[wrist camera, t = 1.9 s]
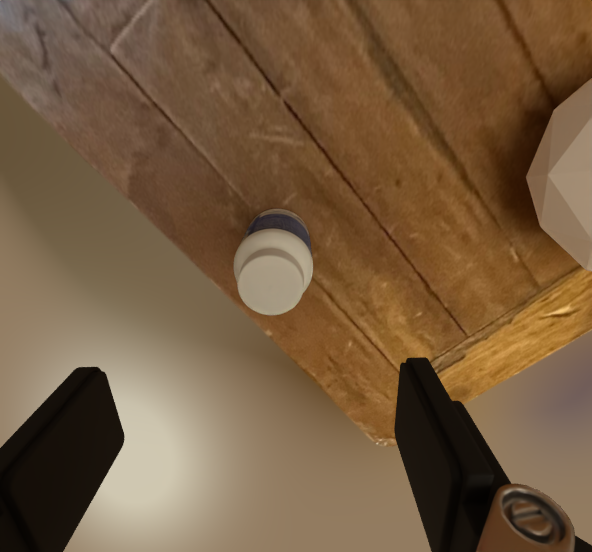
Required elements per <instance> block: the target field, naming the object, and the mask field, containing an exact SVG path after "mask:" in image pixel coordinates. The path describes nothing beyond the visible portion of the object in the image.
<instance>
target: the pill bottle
mask: <svg viewBox="0 0 592 552" xmlns="http://www.w3.org/2000/svg"><path fill="white" fill-rule="evenodd" d="M312 273H313V260H312V252H311V243H310V236H309V232H308V229H307V226H306V225H305V223H304V222H303V220H302V219H301V218H300V217H299V216H298V215H296V214H295V213H293V212H291V211H288V210H285V209H270V210H267V211H264V212H262V213H261V214H259V215H258V216H256V217H255V218H254V220H253V221H252V222H251V224H250V226H249V227H248V229H247V231H246V233H245V235H244V237H243V239H242V241H241V243H240V245H239V247H238V249H237V252H236V255H235V258H234V274H235V278H236V281H237V283H238V291H239V295H240V297H241V299H242V300H243V302H244V303H245V304H246V305H247V306H248V307H249V308H251V309H252V310H254V311H256V312H258V313H261V314H265V315H279V314H282V313H285V312H287V311H289V310H291V309H292V308H294V307H295V306H296V304H297V303H298V302H299V300H300V299H301V296H302V294H303V293H304V291H305V290H306V289H307V287H308V286H309V284H310V281H311V278H312Z"/></svg>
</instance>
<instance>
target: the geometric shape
mask: <svg viewBox="0 0 592 552" xmlns="http://www.w3.org/2000/svg"><path fill="white" fill-rule="evenodd" d="M526 179H527V183H528V186H529V190H530V193H531V197H532V200H533V204H534V207H535V211H536V214H537V217H538V221H539V224H540V227H541V228H542V229H543V230H544V231H545V232H546V233H547V234H548V235H549V236H550V237H552V238H553V239H554V240H555V241H556V242H557V243H558V244H559V245H560V246H561V247H562V248H563V249H564V250H565V251H566V252H567V253H569V254H570V255H571V256H572V257H573V258H574V259H575V260H576V261H577V262H578V263H579V264H580V265H581V266H582V267H583V268H584V269H586V270H588V271H592V78H591V79H590V80H589V81H587V82H586V83H585V84H584V85H583V86H581V87H580V88H579V89H578V90H577V91H576V92H574V93H573V94H572V95H571V96H570V97H568V98H567V99H566V100H565V101H564V102H563V103H561V104H560V105H559V106H558V107H557V108H555V109H554V111H553V113H552V116H551V118H550V121H549V123H548V125H547V128H546V130H545V133H544V135H543V137H542V140H541V142H540V145H539V147H538V149H537V152H536V154H535V157H534V159H533V162H532V164H531V166H530V169H529V171H528V174H527V176H526Z"/></svg>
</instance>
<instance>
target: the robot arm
mask: <svg viewBox="0 0 592 552" xmlns="http://www.w3.org/2000/svg"><path fill="white" fill-rule="evenodd" d="M395 437H396V441H397V445H398V448H399V451H400V454H401V457H402V460H403V463H404V466H405V470H406V473H407V476H408V479H409V482H410V485H411V488H412V492H413V494H414V497H415V501H416V503H417V507H418V510H419V513H420V517H421V520H422V523H423V526H424V529H425V532H426V535H427V538H428V542H429V545H430V548H431V551H432V552H592V546H591V545H590V544H588V543H587V542H585V541H583V540H582V539H580V538H578V537H577V536H575V532H574V527H573V525H572V523H571V521H570V519H569V517H568V516H567V514H566V513H565V512H564V510H563V509H562V508H561V507H560V506H559V505H558V504H557V503H556V502H555V501H554V500H552V499H551V498H550V497H548V496H547V495H545V494H544V493H542V492H540V491H539V490H537V489H534V488H531V487H529V486H527V485H521V484H511V482H510V481H509V479H508V477H507V476H506V474H505V473H504V471H503V469H502V468H501V466H500V464H499V463H498V461H497V459H496V458H495V456H494V454H493V453H492V451H491V449H490V448H489V446H488V445H487V443H486V441H485V440H484V438H483V436H482V435H481V433H480V431H479V430H478V428H477V427H476V425H475V423H474V422H473V420H472V418H471V417H470V415H469V413H468V412H467V410H466V408H465V407H464V405H463V404H462V403H461V402H459V401H452V400H451V399H450V397H449V395H448V393H447V392H446V390H445V388H444V386H443V385H442V383H441V381H440V379H439V378H438V376H437V374H436V372H435V371H434V369H433V367H432V366H431V364H430V362H429V360H428V359H427V358H407V360H406V363H401V365H400V374H399V385H398V396H397V407H396V418H395ZM123 443H124V432H123V429H122V426H121V422H120V419H119V416H118V412H117V409H116V406H115V402H114V399H113V396H112V393H111V389H110V386H109V383H108V379H107V376H106V374H105V372H102V371H101V370H100V369H99V368H98V367H79V368H76V369H75V370H74V371H73V372H72V373H71V374H70V375H69V376H68V377H67V378H66V379H65V381H64V382H63V383H62V384H61V385H60V386H59V387H58V388H57V389H56V390H55V391H54V392H53V393H52V394H51V395H50V396H49V397H48V398H47V400H46V401H45V402H44V403H43V404H42V405H41V406H40V407H39V408H38V409H37V410H36V411H35V412H34V413H33V414H32V415H31V416H30V417H29V418H28V419H27V421H26V422H25V423H24V424H23V425H22V426H21V427H20V428H19V429H18V430H17V431H16V432H15V433H14V434H13V435H12V436H11V437H10V439H8V440H7V442H6V443H5V444H4V445H3V446H2V447H1V448H0V552H63V551H64V549H65V547H66V545H67V544H68V542H69V540H70V539H71V537H72V535H73V533H74V531H75V530H76V528H77V526H78V524H79V523H80V521H81V519H82V517H83V515H84V514H85V512H86V510H87V508H88V507H89V505H90V503H91V501H92V499H93V498H94V496H95V494H96V492H97V491H98V489H99V487H100V485H101V483H102V482H103V480H104V478H105V476H106V475H107V473H108V471H109V469H110V468H111V466H112V464H113V462H114V460H115V459H116V457H117V455H118V453H119V452H120V450H121V448H122V446H123Z"/></svg>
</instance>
